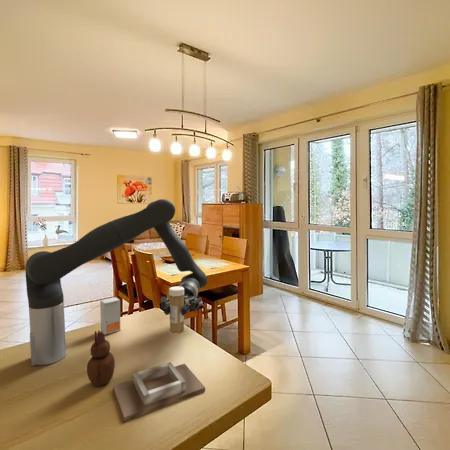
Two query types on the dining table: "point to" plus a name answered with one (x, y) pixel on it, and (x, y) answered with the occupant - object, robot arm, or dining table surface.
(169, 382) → the board
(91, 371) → the wooden figurine
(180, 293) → the sprinkles bottle
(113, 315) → the skincare box
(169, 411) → the dining table surface
